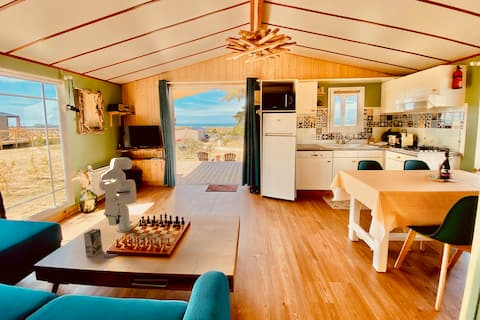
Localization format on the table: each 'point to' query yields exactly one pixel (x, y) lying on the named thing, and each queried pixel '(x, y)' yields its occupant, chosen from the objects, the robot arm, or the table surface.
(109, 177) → the robot arm
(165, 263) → the table surface
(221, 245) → the table surface
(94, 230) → the coffee box
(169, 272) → the table surface
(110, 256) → the grey round disc
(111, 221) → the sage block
